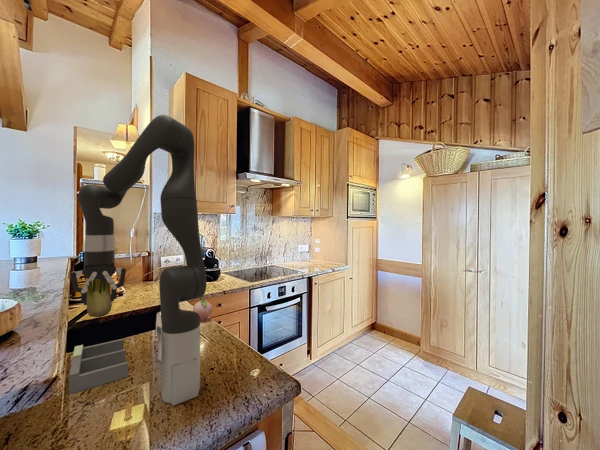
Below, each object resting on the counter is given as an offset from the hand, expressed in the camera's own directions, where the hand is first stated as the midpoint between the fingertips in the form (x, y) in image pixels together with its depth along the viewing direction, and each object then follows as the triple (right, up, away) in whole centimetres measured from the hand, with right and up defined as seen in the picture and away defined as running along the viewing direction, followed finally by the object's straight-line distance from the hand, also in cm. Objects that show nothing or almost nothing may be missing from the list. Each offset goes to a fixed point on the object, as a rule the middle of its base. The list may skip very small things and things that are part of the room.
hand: (99, 302), depth 81 cm
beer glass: (+18, -20, +6) cm, 28 cm away
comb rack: (+1, -20, -1) cm, 20 cm away
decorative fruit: (+17, -21, +40) cm, 48 cm away
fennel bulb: (0, -4, -1) cm, 4 cm away
